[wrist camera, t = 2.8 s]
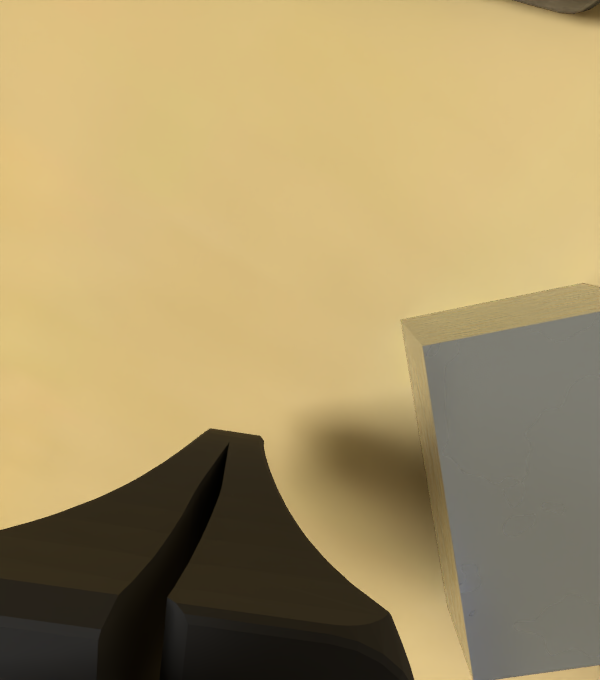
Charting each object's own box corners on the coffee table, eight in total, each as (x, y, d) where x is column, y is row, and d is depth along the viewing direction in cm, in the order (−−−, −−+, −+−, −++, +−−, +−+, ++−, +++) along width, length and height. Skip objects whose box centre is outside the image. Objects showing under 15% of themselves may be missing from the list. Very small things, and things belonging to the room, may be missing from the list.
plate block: (594, 574, 16) (659, 656, 13) (444, 597, 16) (473, 682, 13) (576, 281, 13) (651, 301, 10) (398, 317, 13) (422, 346, 11)
